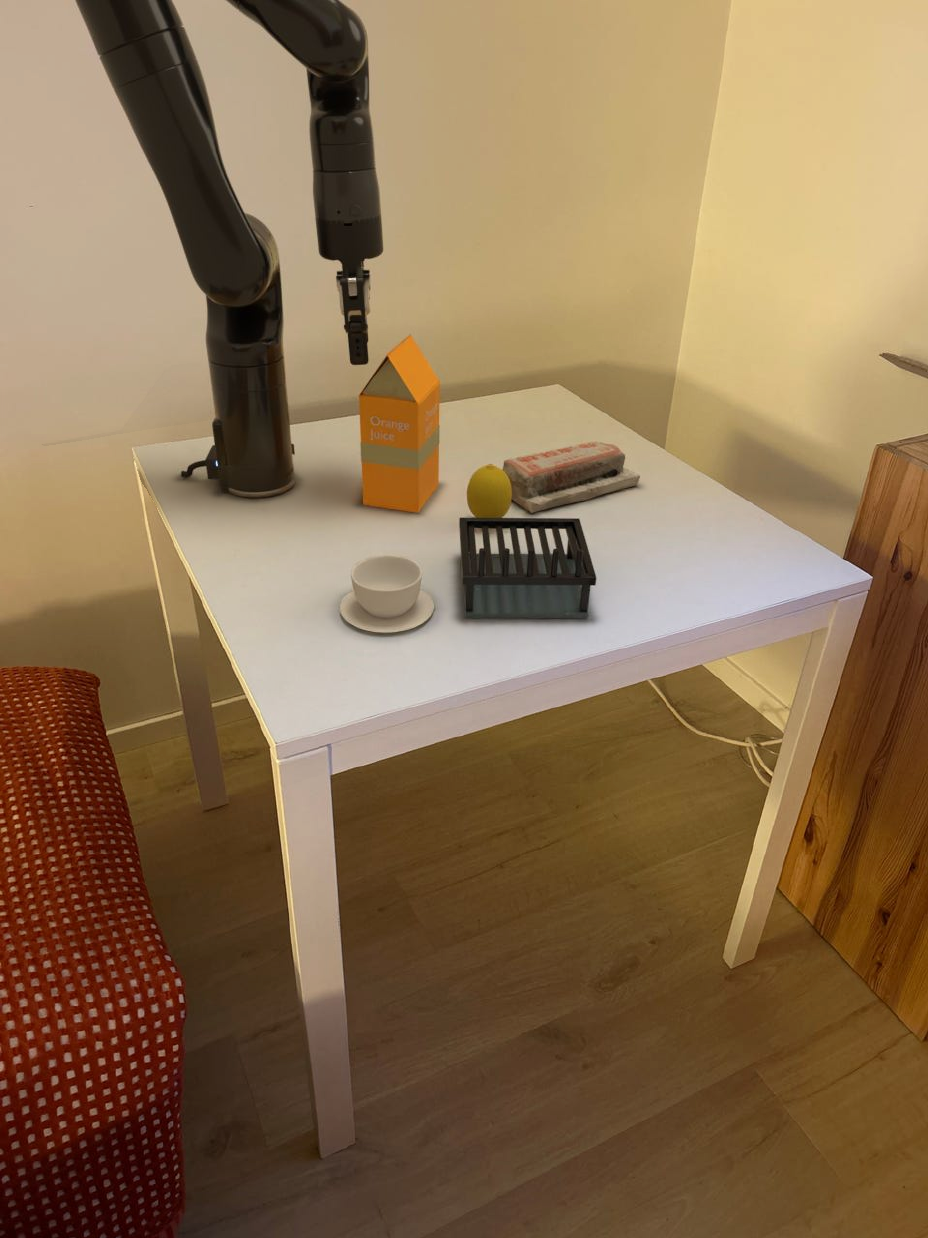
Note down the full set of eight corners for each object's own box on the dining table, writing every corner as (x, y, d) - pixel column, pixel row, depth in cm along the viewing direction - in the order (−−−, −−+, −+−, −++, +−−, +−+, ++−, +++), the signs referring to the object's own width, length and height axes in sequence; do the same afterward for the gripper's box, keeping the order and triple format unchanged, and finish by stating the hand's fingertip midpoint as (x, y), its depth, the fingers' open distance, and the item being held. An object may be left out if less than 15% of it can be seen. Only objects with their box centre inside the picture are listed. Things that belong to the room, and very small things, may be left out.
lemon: (515, 518, 117) (519, 459, 113) (502, 537, 113) (505, 477, 109) (474, 510, 119) (476, 452, 114) (459, 529, 114) (461, 469, 110)
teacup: (451, 618, 98) (452, 580, 95) (367, 646, 93) (366, 607, 91) (404, 576, 105) (403, 540, 102) (324, 600, 100) (321, 563, 97)
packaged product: (533, 480, 115) (490, 452, 122) (531, 515, 118) (488, 486, 125) (644, 453, 123) (598, 428, 130) (640, 486, 126) (594, 460, 133)
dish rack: (461, 619, 98) (463, 551, 93) (458, 556, 109) (459, 493, 104) (591, 619, 98) (599, 551, 94) (575, 557, 109) (582, 494, 105)
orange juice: (439, 485, 125) (441, 336, 114) (419, 513, 118) (418, 357, 107) (384, 477, 127) (381, 329, 116) (361, 504, 119) (355, 350, 108)
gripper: (317, 203, 112) (331, 338, 120) (311, 223, 100) (327, 373, 108) (380, 200, 112) (389, 336, 121) (381, 221, 100) (391, 369, 109)
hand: (359, 353), depth 114 cm, fingers open, 8 cm apart
